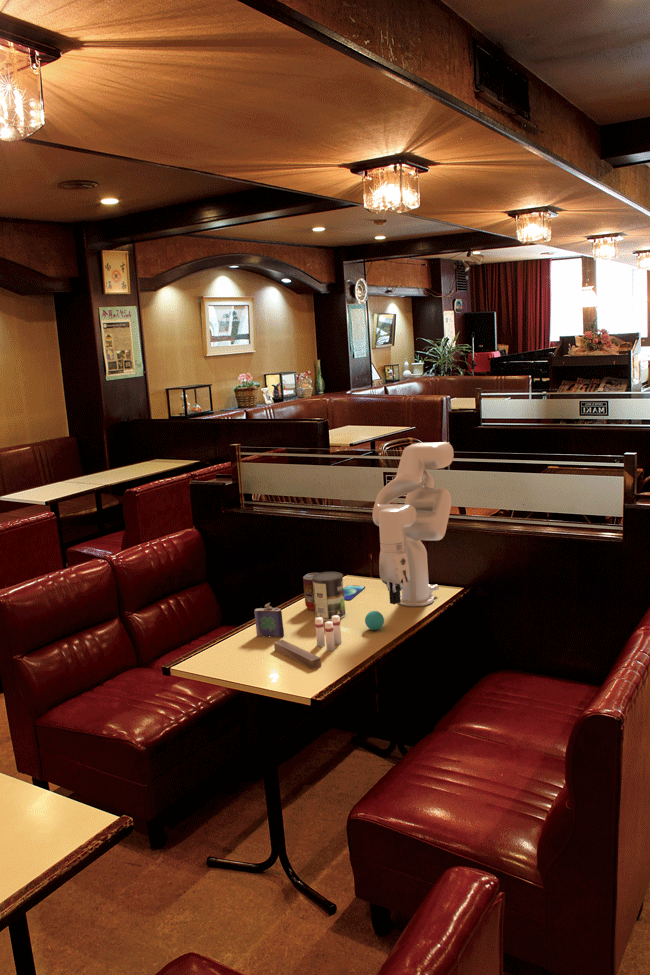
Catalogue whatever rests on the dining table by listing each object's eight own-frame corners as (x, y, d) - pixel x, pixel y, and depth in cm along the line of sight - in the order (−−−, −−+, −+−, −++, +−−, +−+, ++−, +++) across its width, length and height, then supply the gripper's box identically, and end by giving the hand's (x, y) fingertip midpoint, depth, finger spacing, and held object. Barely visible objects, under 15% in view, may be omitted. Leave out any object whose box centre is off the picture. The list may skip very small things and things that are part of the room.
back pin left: (331, 647, 225) (329, 620, 224) (336, 649, 223) (334, 622, 222) (325, 649, 224) (322, 622, 222) (329, 652, 222) (327, 624, 220)
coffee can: (348, 610, 256) (345, 571, 254) (342, 621, 246) (339, 580, 244) (318, 610, 258) (315, 571, 256) (312, 621, 249) (309, 580, 246)
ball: (376, 624, 241) (375, 606, 240) (388, 629, 236) (387, 611, 235) (361, 629, 237) (360, 611, 236) (374, 634, 233) (372, 616, 232)
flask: (255, 637, 239) (252, 605, 237) (259, 633, 242) (255, 602, 240) (282, 638, 236) (279, 605, 234) (285, 634, 239) (282, 602, 237)
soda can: (302, 611, 259) (299, 577, 257) (311, 604, 266) (308, 571, 264) (320, 612, 256) (317, 578, 254) (329, 605, 263) (326, 572, 261)
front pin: (338, 640, 230) (336, 614, 228) (343, 643, 228) (341, 616, 226) (331, 643, 228) (329, 616, 227) (336, 645, 226) (334, 618, 225)
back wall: (282, 647, 228) (282, 639, 228) (321, 666, 212) (320, 657, 212) (274, 650, 227) (273, 642, 226) (312, 669, 211) (312, 660, 210)
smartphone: (331, 598, 269) (347, 585, 283) (331, 600, 270) (347, 587, 283) (350, 599, 266) (366, 586, 280) (351, 602, 266) (366, 588, 280)
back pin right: (321, 643, 229) (319, 616, 228) (326, 645, 227) (324, 618, 226) (315, 645, 228) (313, 618, 226) (320, 647, 226) (317, 620, 224)
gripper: (417, 548, 234) (419, 605, 236) (385, 542, 246) (388, 596, 248) (399, 552, 229) (402, 610, 232) (368, 546, 241) (371, 601, 244)
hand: (395, 602), depth 240 cm, fingers closed
